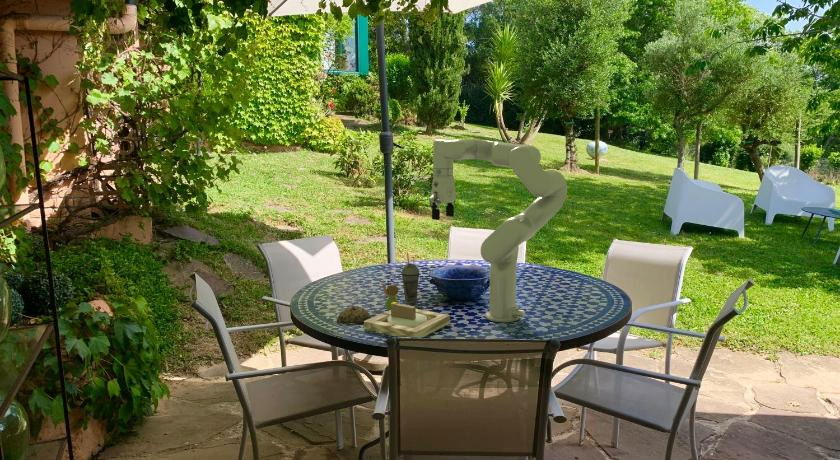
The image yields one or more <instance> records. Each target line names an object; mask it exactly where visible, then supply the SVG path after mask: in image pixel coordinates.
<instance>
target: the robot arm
mask: <svg viewBox="0 0 840 460" xmlns="http://www.w3.org/2000/svg"><path fill="white" fill-rule="evenodd" d="M432 147H433V149H432V151H433V153H432V154H433V155H432V158H433V160H432V161H433V162H432V164H433V166H432V170H433V171H432V172H433V173H432V177H433V178H432V185H431V196H429V197H428V201H429V205H430V209H431V220H435V221H440V219H441V218H440V217H441V216H440V215H441V213H440V212H441V210H440V209H439V208H440V207H441V204H442V205H445V204H446V206H445V216H446V217H454V214H455V212H454V211H455V206H456V205H455V202H456V198H457V193H456V182H455V181H456V180H455V176H454V161H465V160H479V161H487V162H490V163H491V164H492V165H493V166H495V167H504V168H510V169H512V171H513V172H514V175H516V177H517V178H518V179H519V180H520V181H521V183H522V184H523V186H525V188H527V190H528V191H529V192H530V193H531V194H532V195H533V196H535V197H537V198H536V199H534V200H533V201H532V202H531V203H530V204H529V205H528V206H527V207H526V208H525V209H524V210H522V212H520V213H519V214H516V215H514V216H512V217H511V216H510V218H507V219H506V220H504V221H502V223H501V224H500V225H499V226H498V227H496V229H494V231H493V232H492V233H491V234H489V235H488V236H487V237H486V238H485V239H484V240H483V241H482V243H481V245H480V255H481V258H482V259H483V260H484V261H485V262H487V263H488V264H490V266H489V267H490V268H489V311H486V312H485V316H484V317H485V319H487V320H488V321H491V322H495V323H496V322H497V323H512V322H515V321H519V320H520V318H525V317H526V310H524V309H519V305H516V304H517V303H516V301H517V298H516V297H517V268H518V267H517V266H518V265H517V263H518V257H519V246H520V245H521V244H523V243H525V242H527V241H528V240H530V239H532V238H533V237H534V236H535V234H536V233H538V232H539V231H540V230H541V229H542V228H543V227H544V226H545V225H546V224H547V223H548V222H549V221H550V220H551V219H552V218H553V217H554V216H555V215H556V214H557V213H558V212H559V211H560V210H561V208H562V207H563V205H564V203H566V200H567V195H568V184H567V183H568V182H567V180H566V178H565V176H564V175H563V173H561V172H560V171H557V170H553V169H549V170H548V169H547V170H544V168H543V167H542V166H541V164H540V163H541V160H542V154H541V151H540V149H538V148H537V147H536V146H534V145H529V144H523V143H522V144H521V143H513V142H512V143H511V142H503V141H493V140H487V139H486V140H485V139H478V138H475V139H474V138H461V139H460V138H459V139H453V140H451V139H448V138H446V139H445V138H444V139H435V140H434V141H433V145H432Z"/></svg>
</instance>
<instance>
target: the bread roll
mask: <svg viewBox="0 0 840 460" xmlns="http://www.w3.org/2000/svg"><path fill="white" fill-rule="evenodd" d="M370 318H372V317H371V315H370V313H369V312H368V310H367V309H365V308H364V307H361V306H357V305H356V306H354V305H352V306H351V307H348V308H345V309H344V310H343V311H341V312H340V313H339V314H338V316H337V318H336V322H337V323H338V324H342V323H343V325H345V324H350V325H351V323H353V324H363V323H362V322H364V321H366V320H368V319H370Z"/></svg>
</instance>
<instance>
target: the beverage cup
mask: <svg viewBox="0 0 840 460" xmlns="http://www.w3.org/2000/svg"><path fill="white" fill-rule="evenodd" d="M406 256H407V257H406V259H407V263H406V264H405V265H404V266H403V267H402V270H401V277H402V285H403V292H404V293H403V295H404V300H405V303H408V304H412V303H416V302H417V298H418V287H419V278H420V274H421V273H420V269H419V267H418V266H417V265H416V264H414V263H411V262H410V258H409V252H406Z"/></svg>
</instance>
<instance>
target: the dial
mask: <svg viewBox="0 0 840 460" xmlns="http://www.w3.org/2000/svg"><path fill="white" fill-rule="evenodd" d="M416 309H417V308H416V306H413V305H408V304H401V303H399V304H398V303H397V302H392V303H391V316H389V317H388V323H390V324H395V325H400V326H405V327H410V328H415V327H417V326H419V325H421V324H423V323H425V322H427V317H426V316H425V315H423V314H419V313H416Z"/></svg>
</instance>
